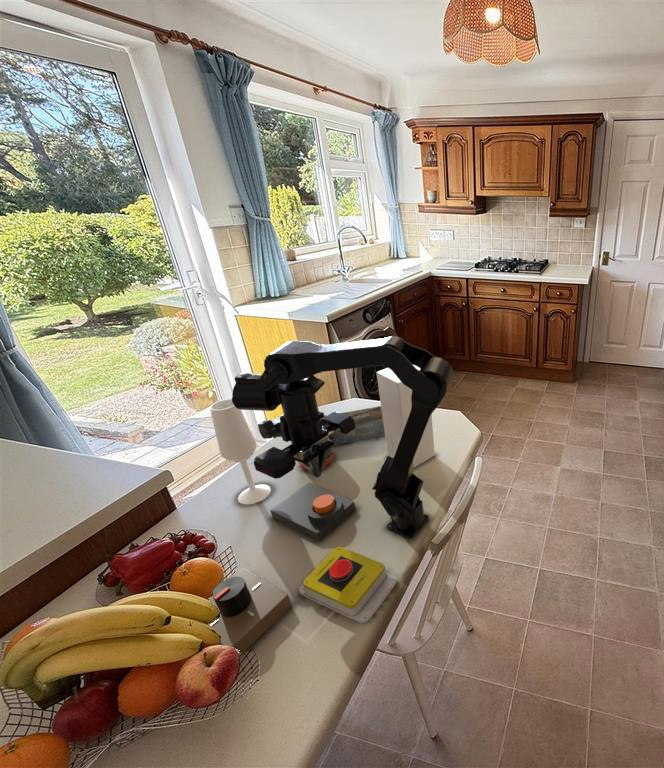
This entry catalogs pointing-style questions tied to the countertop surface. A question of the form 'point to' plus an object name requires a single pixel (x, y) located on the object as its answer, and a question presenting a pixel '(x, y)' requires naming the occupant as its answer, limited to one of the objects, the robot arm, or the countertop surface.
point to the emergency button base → (311, 511)
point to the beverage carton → (361, 426)
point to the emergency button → (349, 584)
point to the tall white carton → (400, 415)
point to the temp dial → (232, 596)
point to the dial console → (252, 613)
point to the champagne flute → (237, 445)
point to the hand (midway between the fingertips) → (317, 476)
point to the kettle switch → (324, 504)
